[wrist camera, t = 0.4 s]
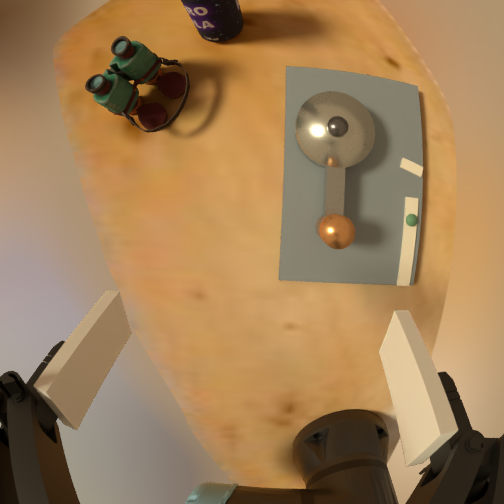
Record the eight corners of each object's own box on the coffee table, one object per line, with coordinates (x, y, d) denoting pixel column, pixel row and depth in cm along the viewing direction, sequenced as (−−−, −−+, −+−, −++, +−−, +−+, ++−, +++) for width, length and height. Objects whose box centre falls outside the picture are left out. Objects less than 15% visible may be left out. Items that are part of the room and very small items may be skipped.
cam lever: (295, 96, 27) (297, 77, 22) (367, 103, 26) (381, 88, 21) (290, 239, 30) (292, 247, 25) (364, 243, 29) (379, 252, 24)
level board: (408, 281, 31) (415, 286, 29) (278, 276, 32) (278, 281, 30) (412, 89, 27) (419, 84, 25) (286, 71, 28) (286, 63, 26)
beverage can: (204, 15, 27) (177, -40, 16) (246, 13, 27) (232, -46, 15) (197, 46, 28) (164, -7, 17) (241, 45, 28) (224, -14, 16)
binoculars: (137, 130, 21) (67, 94, 20) (171, 145, 32) (112, 113, 31) (194, 47, 20) (116, 21, 19) (211, 84, 30) (148, 57, 29)
